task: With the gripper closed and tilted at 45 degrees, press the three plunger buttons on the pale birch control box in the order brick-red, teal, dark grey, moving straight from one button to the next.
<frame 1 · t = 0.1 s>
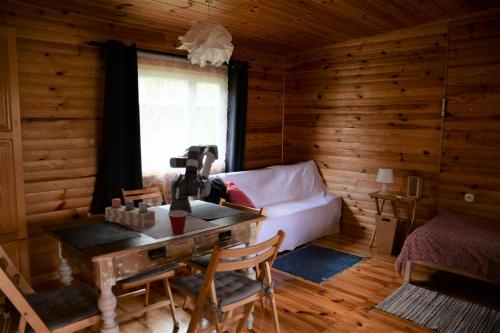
hand: (187, 198, 228), 15 cm above the table, tool tilted 35°, fingers open, 13 cm apart
plastic cup: (178, 233, 207), on the table
red button: (116, 203, 237), point 11 cm above the table, slide at 0.0 cm
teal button: (143, 207, 225), point 11 cm above the table, slide at 0.0 cm
control box: (130, 221, 232), on the table
grey button: (129, 205, 231), point 11 cm above the table, slide at 0.0 cm
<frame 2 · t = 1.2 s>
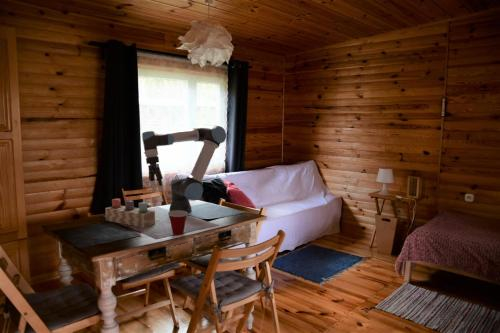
hand: (157, 191, 226), 20 cm above the table, tool pointing down, fingers open, 13 cm apart
nothing on the table moved.
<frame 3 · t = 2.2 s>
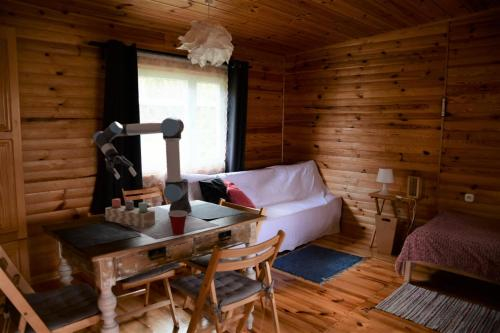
hand: (127, 176, 235), 28 cm above the table, tool tilted 45°, fingers open, 13 cm apart
nothing on the table moved.
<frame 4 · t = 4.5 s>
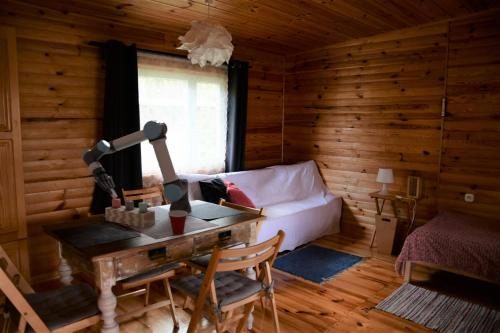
hand: (115, 197, 237), 14 cm above the table, tool tilted 45°, fingers closed
red button: (116, 203, 237), point 11 cm above the table, slide at 0.1 cm, touching gripper
everything else where it was.
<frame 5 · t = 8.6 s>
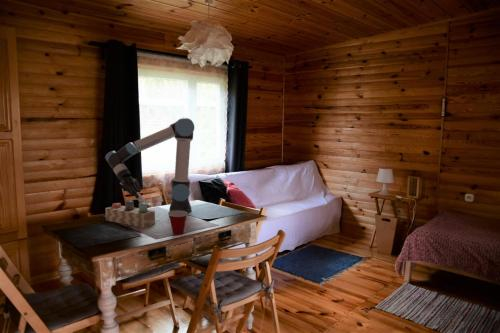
hand: (142, 201, 224), 14 cm above the table, tool tilted 45°, fingers closed
red button: (116, 207, 237), point 8 cm above the table, slide at 3.0 cm
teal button: (143, 207, 225), point 10 cm above the table, slide at 0.3 cm, touching gripper
everything else where it was.
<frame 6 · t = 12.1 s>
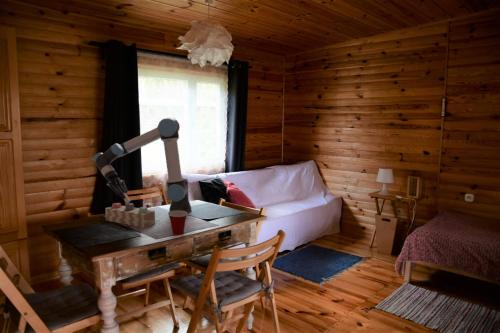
hand: (128, 202, 231), 13 cm above the table, tool tilted 45°, fingers closed
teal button: (143, 212, 225), point 8 cm above the table, slide at 3.0 cm
grey button: (129, 207, 231), point 9 cm above the table, slide at 1.8 cm, touching gripper
everything else where it was.
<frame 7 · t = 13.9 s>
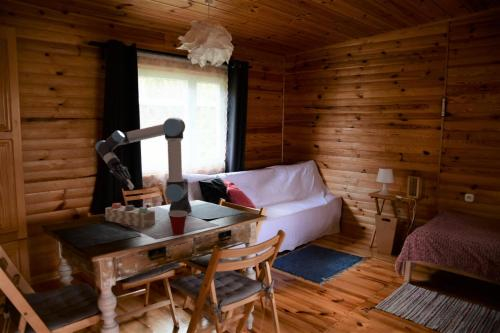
hand: (132, 188, 232), 21 cm above the table, tool tilted 45°, fingers closed
grey button: (129, 209, 231), point 8 cm above the table, slide at 3.0 cm
everything else where it was.
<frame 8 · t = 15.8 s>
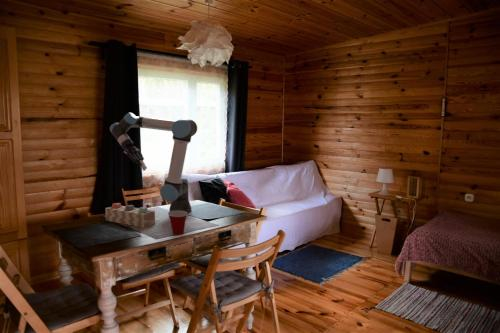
hand: (145, 169, 238), 32 cm above the table, tool tilted 45°, fingers closed
nothing on the table moved.
at the end: red button slide at 3.0 cm; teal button slide at 3.0 cm; grey button slide at 3.0 cm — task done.
